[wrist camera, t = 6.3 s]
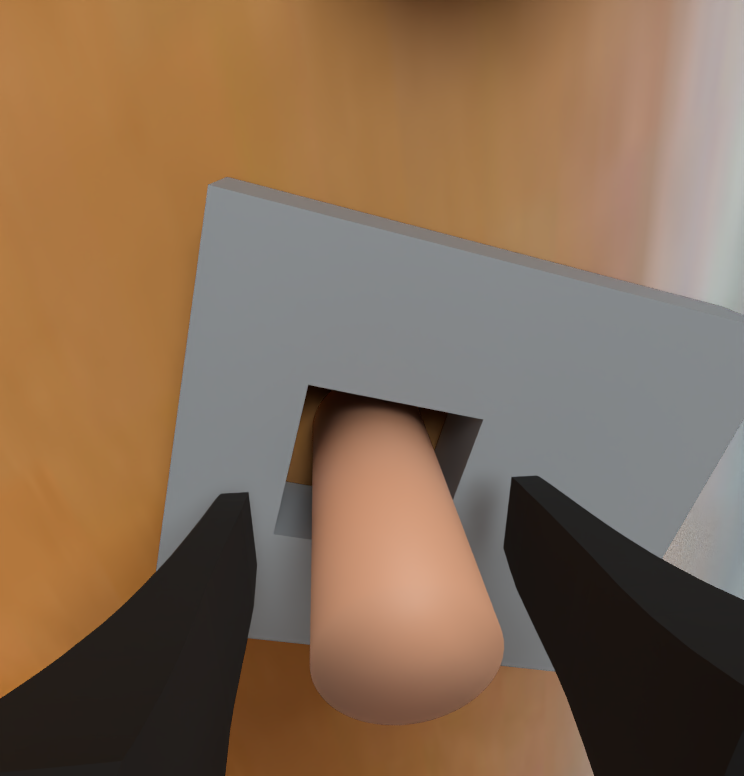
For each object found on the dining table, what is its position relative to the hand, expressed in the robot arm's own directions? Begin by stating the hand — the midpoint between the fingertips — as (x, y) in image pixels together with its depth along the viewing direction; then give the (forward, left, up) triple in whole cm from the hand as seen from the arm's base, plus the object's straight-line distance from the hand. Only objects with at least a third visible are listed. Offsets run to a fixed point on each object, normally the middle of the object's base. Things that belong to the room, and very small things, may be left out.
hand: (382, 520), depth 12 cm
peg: (0, 0, -4) cm, 4 cm away
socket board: (-2, 0, -4) cm, 5 cm away
